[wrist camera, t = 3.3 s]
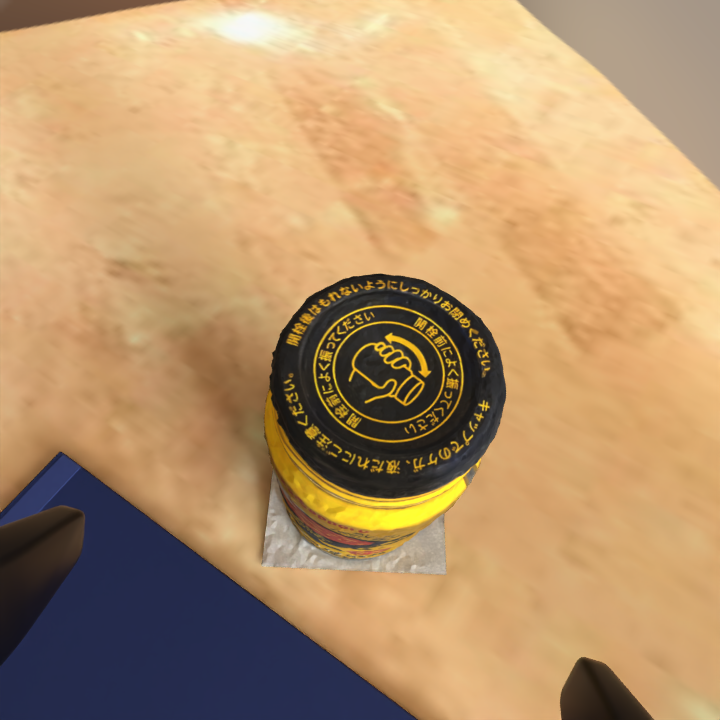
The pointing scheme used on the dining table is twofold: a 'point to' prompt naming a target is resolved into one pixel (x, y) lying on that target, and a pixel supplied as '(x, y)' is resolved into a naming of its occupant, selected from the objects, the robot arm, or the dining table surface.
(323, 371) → the condiment
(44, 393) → the dining table surface
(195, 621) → the cloth
